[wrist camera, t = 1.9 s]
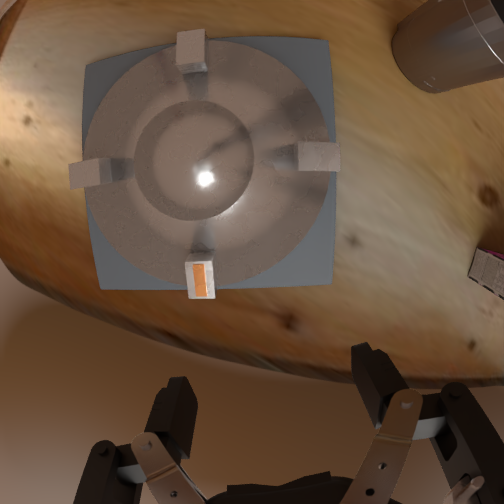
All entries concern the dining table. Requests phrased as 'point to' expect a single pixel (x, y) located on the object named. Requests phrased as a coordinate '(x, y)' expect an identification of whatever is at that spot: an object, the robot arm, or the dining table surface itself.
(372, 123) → the dining table surface
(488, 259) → the candy bar box
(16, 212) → the dining table surface
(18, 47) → the dining table surface
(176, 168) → the clamped metal dish
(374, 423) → the robot arm
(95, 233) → the base plate
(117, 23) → the dining table surface
